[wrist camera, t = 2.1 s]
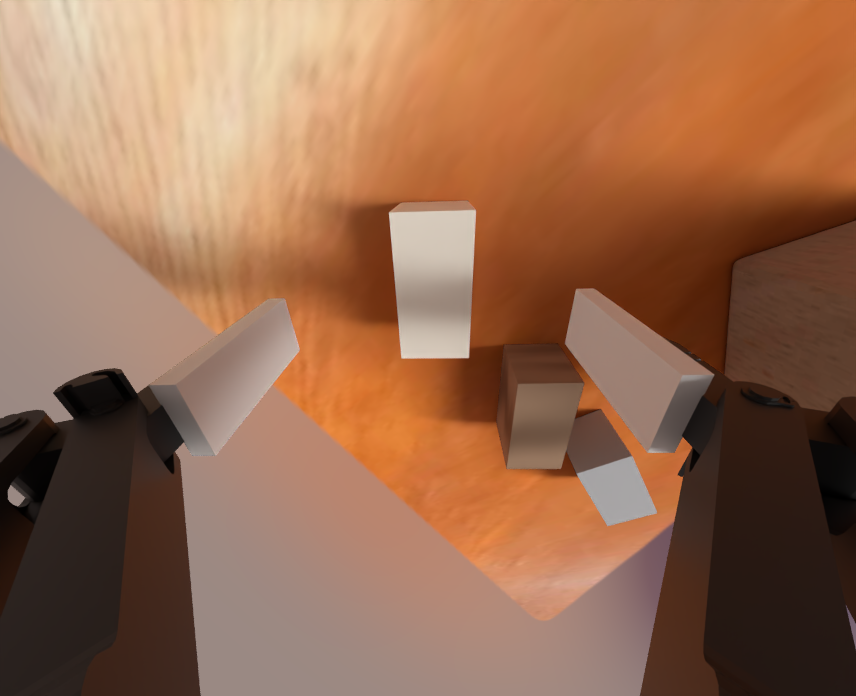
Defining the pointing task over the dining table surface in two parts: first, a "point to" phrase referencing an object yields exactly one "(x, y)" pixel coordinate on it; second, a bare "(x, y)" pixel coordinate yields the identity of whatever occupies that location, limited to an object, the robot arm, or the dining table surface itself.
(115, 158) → the dining table surface
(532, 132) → the dining table surface
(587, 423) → the slate brick
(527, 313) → the dining table surface
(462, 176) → the dining table surface
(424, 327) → the cream brick
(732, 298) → the wooden block
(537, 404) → the walnut brick
